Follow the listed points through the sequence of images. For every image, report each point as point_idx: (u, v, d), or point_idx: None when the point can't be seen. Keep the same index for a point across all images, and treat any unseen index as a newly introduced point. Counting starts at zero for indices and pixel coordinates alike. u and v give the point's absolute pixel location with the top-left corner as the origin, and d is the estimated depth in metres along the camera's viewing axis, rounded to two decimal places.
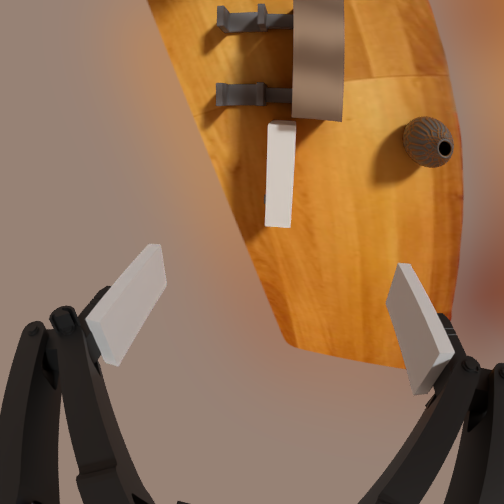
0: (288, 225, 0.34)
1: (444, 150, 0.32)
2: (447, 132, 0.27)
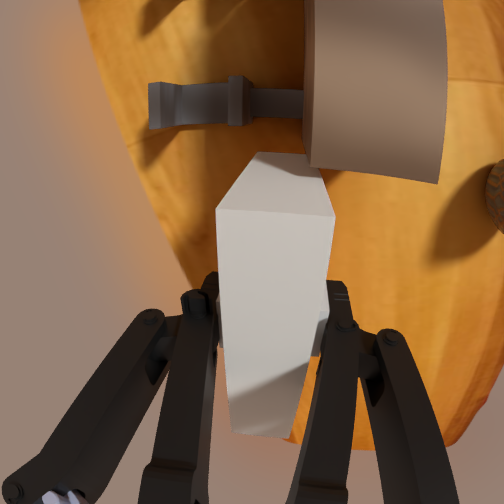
0: (285, 435, 0.13)
1: None
2: None
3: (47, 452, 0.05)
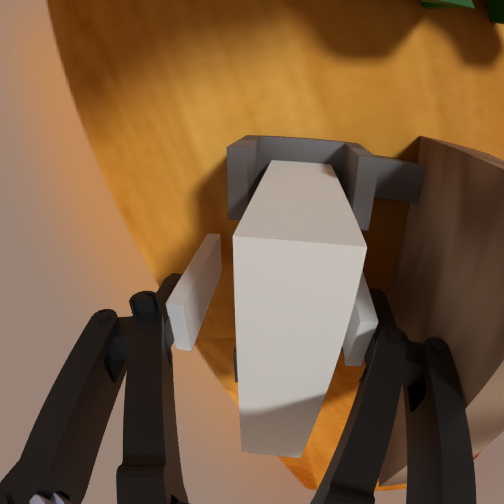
0: (296, 455, 0.12)
1: None
2: None
3: (26, 457, 0.05)
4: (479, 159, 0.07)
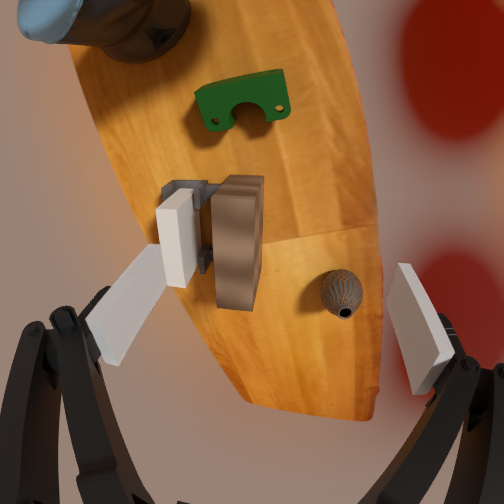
0: (183, 286, 0.41)
1: None
2: (353, 295, 0.42)
3: None
4: (220, 186, 0.37)
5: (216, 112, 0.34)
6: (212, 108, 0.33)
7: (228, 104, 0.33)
